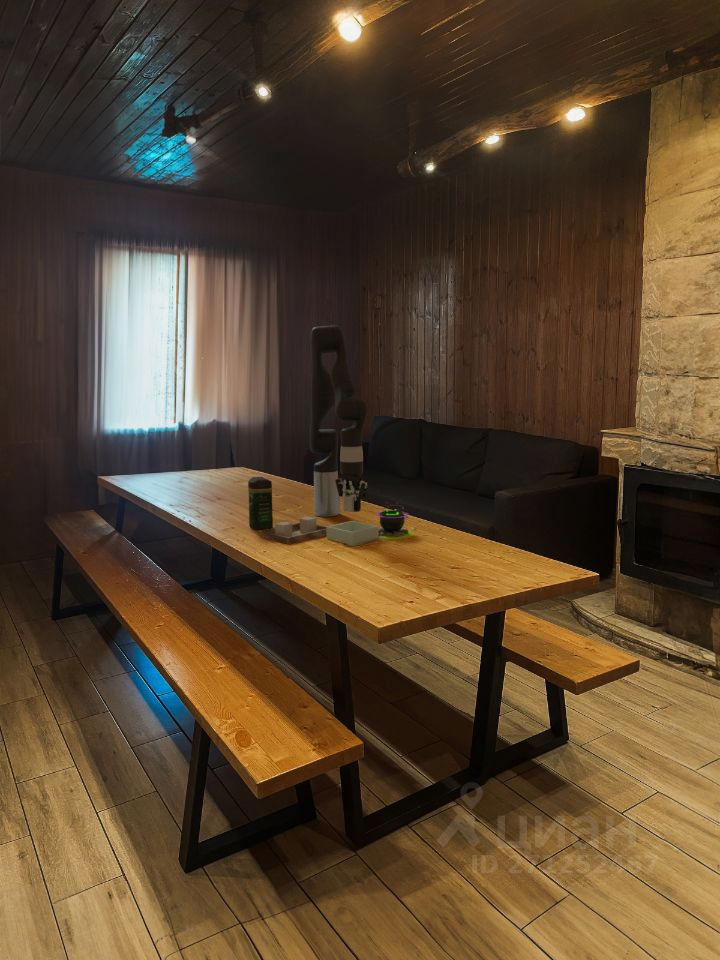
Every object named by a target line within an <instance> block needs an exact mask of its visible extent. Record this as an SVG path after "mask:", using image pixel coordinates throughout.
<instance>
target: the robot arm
mask: <svg viewBox="0 0 720 960" xmlns="http://www.w3.org/2000/svg"><path fill="white" fill-rule="evenodd" d="M310 353H311V356H310V357H311V385H310V411H311V412H310V426H309V427H310V429H309V450H310V452H311V453H312V454H318V455H320V454H328V456H327V457H325V458H324V459H323V460H320V461H318V462H317V461H316V462H315V463H314V465H313V491H314V492H313V493H314V495H313V501H314V502H313V503H314V504H313V505H314V508H313V509H314V516H317V517H327V518H328V517H335V516H338V515H339V514H341V499H343V496H347V495H353V497H354V500H355V501H354V512H353V513H358V512H361V509H362V508H361V507H362V506H361V505H362V503H361V501H362V500H364V499H366V497H367V493H368V489H369V485H370V483H369V482H368V481H364V480H363V477H362V475H363V473H364V451H363V430H364V426H365V422H366V420H367V419H366V418H367V415H368V406H367V403H366V401H365V400H364V399H362V398H353V397H354V396H355V395H356V387H355V384H354V379H353V378H352V374H351V371H350V366H349V360H348V353H347V348H346V343H345V337H344V334H343V331H342V328H341V327H340V326H338V325H323V326H322V325H321V326H314V327H313V328H312V329H311V332H310ZM329 353H336V360H335V363H334V365H333V367H332V369H331V371H330V372H329V371H328V369H327V368H326V366H325V364H324V362H323V358H322V354H329ZM333 408H334V413H335V414H334V415H335V417H336V418H337V419H338V420H339V421H341V422H348V421H350V422H351V421H353V423H352V425H351V426H349V427H345V428H342V429H341V430H340V454H339V455H340V456H339V460H340V461H339V462H340V466H339V467H340V470H339V469H338V451H339V450H338V449H339V436H338V432H337V430H336V429H335V428H334V429H333V428H330V429H329V428H328V429H327V428H326V429H324V428H323V429H320V427H321V425H322V423H323V421H324V419H325V418H326V417H327V415H328V414H329V413H330V412H331V410H332V409H333ZM338 470H339V471H340V474H341V477H340V478H339V476H338V475H339V474H338V473H339V472H338ZM357 496H358V497H357Z"/></svg>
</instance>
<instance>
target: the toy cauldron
mask: <svg viewBox="0 0 720 960" xmlns="http://www.w3.org/2000/svg"><path fill="white" fill-rule="evenodd" d="M386 504H388V502H386ZM396 504H399V502H396ZM389 506H390V507H391V506H394V505H393V504H390V505H389ZM389 506H388V507H389ZM400 507H402V509H404V507H403V506H401V505H400ZM380 509H383V506H380ZM409 515H410V514H409V513H408V512H405V511H401V510H397V509H396V508H395V509H394V510H393V509H385V510H383V511H378V512H376V516H379V524H380V527H381V528H378V534H379V539H384V540H402V539H408V538H412V537H413V536H414V535H415V533H414V532H413V531H411V530H409V529H407V528H406V529H405V528H404V525H405V523H406V522H405V521H406V520H405V519H408V518H409Z"/></svg>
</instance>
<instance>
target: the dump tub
mask: <svg viewBox="0 0 720 960" xmlns="http://www.w3.org/2000/svg"><path fill="white" fill-rule="evenodd" d="M326 527H327V535H326V539H327V540H331V541H336V542H339V543H343V544H344V545H346V546H349V547H356V546H360V545H363V544H367V543H371V542H375V541H378V540H379V539H380V538H379V534H380V533H378V530H379V526H378V525H375V524H370V523H364V522H360V521H354V520H350V521H349V520H348V521H346V522H342V523H336V524H333V525H327V526H326Z"/></svg>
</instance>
